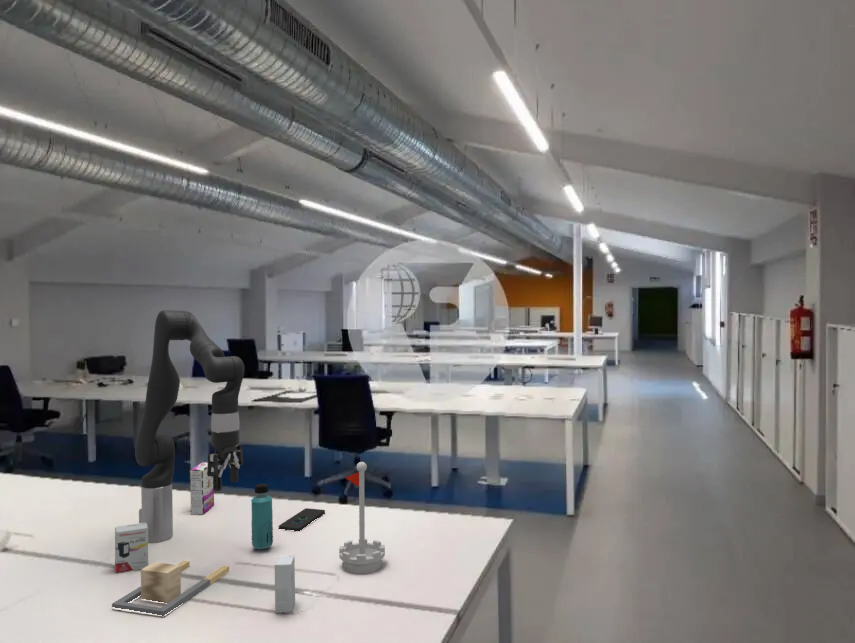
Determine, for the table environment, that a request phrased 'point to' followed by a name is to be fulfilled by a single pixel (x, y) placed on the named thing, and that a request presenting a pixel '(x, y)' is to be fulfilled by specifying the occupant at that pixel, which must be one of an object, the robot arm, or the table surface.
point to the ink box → (131, 547)
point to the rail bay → (176, 601)
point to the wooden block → (160, 582)
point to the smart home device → (301, 519)
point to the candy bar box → (201, 489)
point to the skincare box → (284, 583)
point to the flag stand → (361, 537)
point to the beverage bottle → (262, 518)
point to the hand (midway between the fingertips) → (226, 486)
